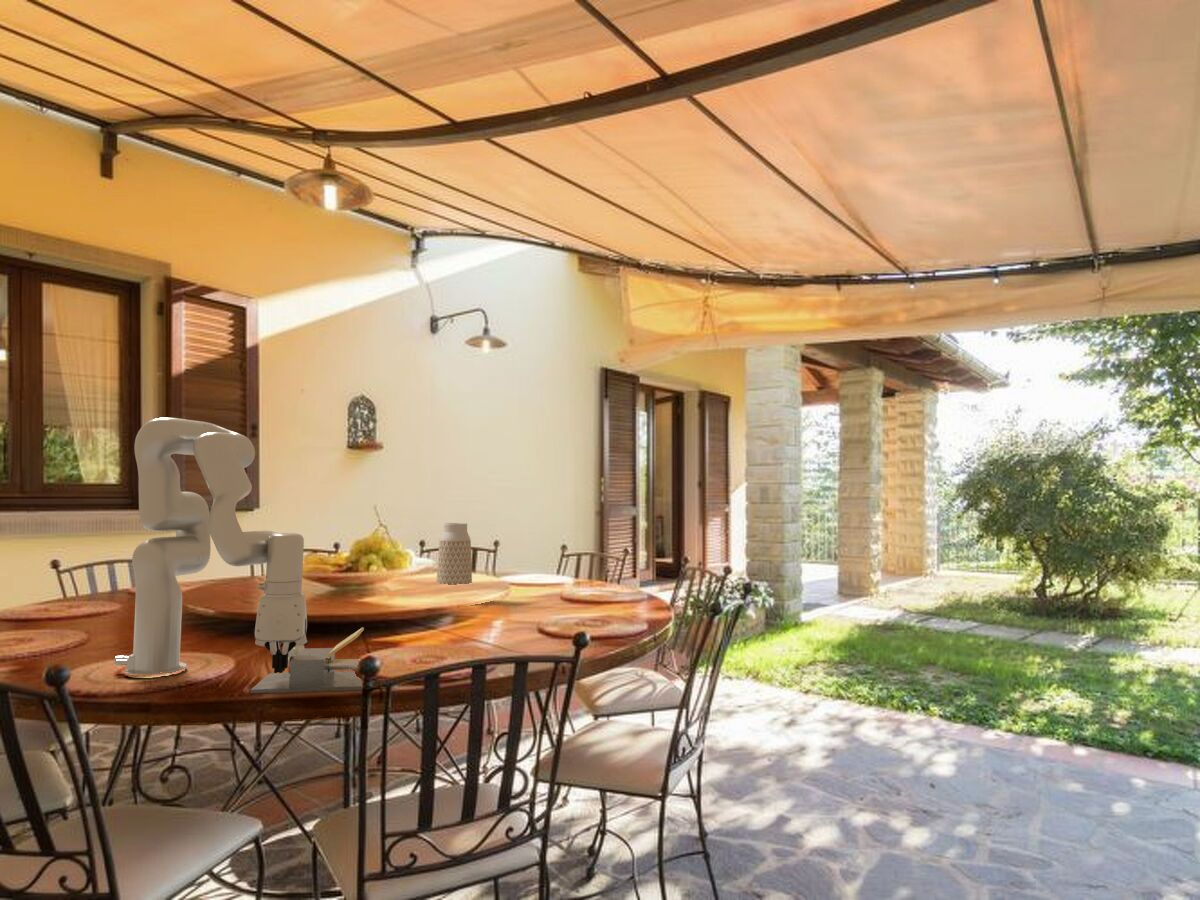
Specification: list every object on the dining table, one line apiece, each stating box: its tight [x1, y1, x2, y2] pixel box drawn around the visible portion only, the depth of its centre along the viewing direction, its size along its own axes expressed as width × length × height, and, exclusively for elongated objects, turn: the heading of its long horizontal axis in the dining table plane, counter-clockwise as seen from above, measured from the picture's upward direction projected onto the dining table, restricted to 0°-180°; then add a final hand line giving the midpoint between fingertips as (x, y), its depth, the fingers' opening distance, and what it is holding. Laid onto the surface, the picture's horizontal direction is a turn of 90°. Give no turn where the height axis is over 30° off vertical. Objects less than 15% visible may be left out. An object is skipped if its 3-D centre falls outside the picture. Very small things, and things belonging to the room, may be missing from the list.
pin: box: [287, 655, 359, 676], centre depth 164 cm, size 14×4×4 cm, turn 99°
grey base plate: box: [250, 647, 363, 694], centre depth 164 cm, size 23×14×6 cm, turn 99°
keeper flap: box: [326, 626, 365, 660], centre depth 165 cm, size 8×10×1 cm
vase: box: [435, 522, 473, 585], centre depth 287 cm, size 14×14×31 cm
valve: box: [279, 641, 309, 666], centre depth 186 cm, size 7×7×12 cm
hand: (279, 671), depth 163 cm, fingers closed
